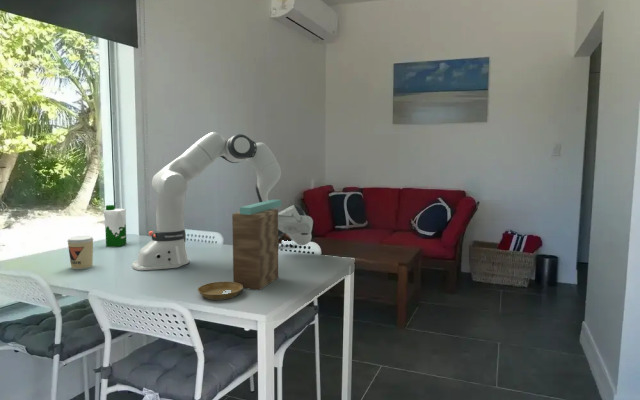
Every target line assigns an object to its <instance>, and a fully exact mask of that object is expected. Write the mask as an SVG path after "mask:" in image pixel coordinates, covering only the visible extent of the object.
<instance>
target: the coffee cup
mask: <svg viewBox="0 0 640 400" xmlns="http://www.w3.org/2000/svg"><path fill="white" fill-rule="evenodd" d="M67 245H68V246H67V247H68V254H69V260H70V267H71V269H72V270H85V269H89V268H92V267H93V262H94V261H93V260H94V258H93V257H94V254H93V253H94V238H93V236H91V235H77V236H72V237H69V238H67Z"/></svg>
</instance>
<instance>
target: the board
mask: <svg viewBox="0 0 640 400" xmlns="http://www.w3.org/2000/svg"><path fill="white" fill-rule="evenodd" d="M280 207H282V199H268V201H264V202H260V203H259V202H256V203H252V204H248V205H244V206H240V207H239V212H240V214H245V215H252V214H255V213H259V212H262V211H266V210H269V209H277V208H280Z"/></svg>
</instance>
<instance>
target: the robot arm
mask: <svg viewBox="0 0 640 400" xmlns="http://www.w3.org/2000/svg"><path fill="white" fill-rule="evenodd" d="M218 158H222V159H223V160H225V161H227V162H229V163H232V164H237V163H240V162H242V161H246V162H248V163H249V164H250V165H251V166H252V169H253V170H254V172H255V174H256V178H257V182H256V184H255V186H254V187H255V192H256V196H257V199H258V203H260V202H264V201H268V200H269V193H270V192H271V190H273V188H274V187H275V186H276V184H278V182H279V181H280V178H281V176H282V169H281V166H280V164H279V162H278V160H277V157H276V156H275V154H274V153H273V151H272V150H271V149H270V148H269V146H268V145H267V144H266V143H265V142H260V141H259V142H255V141H254V140H252V139H251V138H250V137H249V136H246V135H244V134H241V133H239V134H234V135H233V136H231V137H230V138H225V137H224V136H222V134H220V133H218V132H217V131H211V132H209V133H207V134H205V135H204V136H203V137H201V138H199V139H198V140H197V141H195V143H194V144H192V145H191V146H190V147H189V148H188V149H186V150H185V151H184V152H183V153H181V155H180V156H178V157H177V158H175V159H174V160H172V161H170V163H168V164H167V165H165V166H164V167H162V168H161V169H160V170H159V171H158V172H156V173H155V174H154V175H153V177H152V178H151V179H152V180H151V186H152V189H153V191H154V192H155V193H156V194H157V203H156V204H157V205H156V211H155V221H156V224H155V226H156V229H155V230H154V231H153V230H151V231H150V230H149V232H148V236H150V237H151V240H150V241H149V242H147V244H145V245H144V246H143V247H142V248H140V250H139V251H138V254H137V260H135V261H133V262H132V263H131V266H132V267H131V268H133V269H134V270H136V271H153V270H154V271H155V270H162V269H163V270H165V269H167V270H168V269H176V268H181V266H185V265H187V264H189V262H190V260H189V256H188V253H187V249H186V248H187V247H186V239H187V237H186V229H185V219H184V218H185V217H184V213H185V212H184V211H185V203H186V194H187V189H188V183H189V182H191V181H192V180H193V179H195V178H196V177H199V176H200V175H201V174H202V173H203V172H204V171H205V170H206V169H208V168H209V167H210V166H211V165H212V164H213V163H214V162H215V161H216V160H218ZM303 209H304V208H302V207H301V206H300V205H298V204H293V205H290V206H289V207H287V208H285V209H283V210H281V211H278V238H280V236H281V235H283V234H285V233H286V234H287V235H288V236H289V237H290V239H291V241H293V242H294V243H296V244H297V245H298V246H299V245H300V246H305V245H308V244H309V243H310V242H311V240H312V239H313V238H312V231H313V225H314V220H313V218H312V217H311V216H309V215H307V214H306V212H305V211H304V210H303Z"/></svg>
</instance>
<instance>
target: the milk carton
mask: <svg viewBox="0 0 640 400" xmlns="http://www.w3.org/2000/svg"><path fill="white" fill-rule="evenodd" d="M103 218H104V226H105V228H104V230H105V247H107V248H111V247H112V248H121V247H123V246H125V245H127V225H126V224H127V223H126V222H127V221H126V208H116V206H115V205H114V204H108V205H107V204H106V205H105V209H104V210H103Z"/></svg>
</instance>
